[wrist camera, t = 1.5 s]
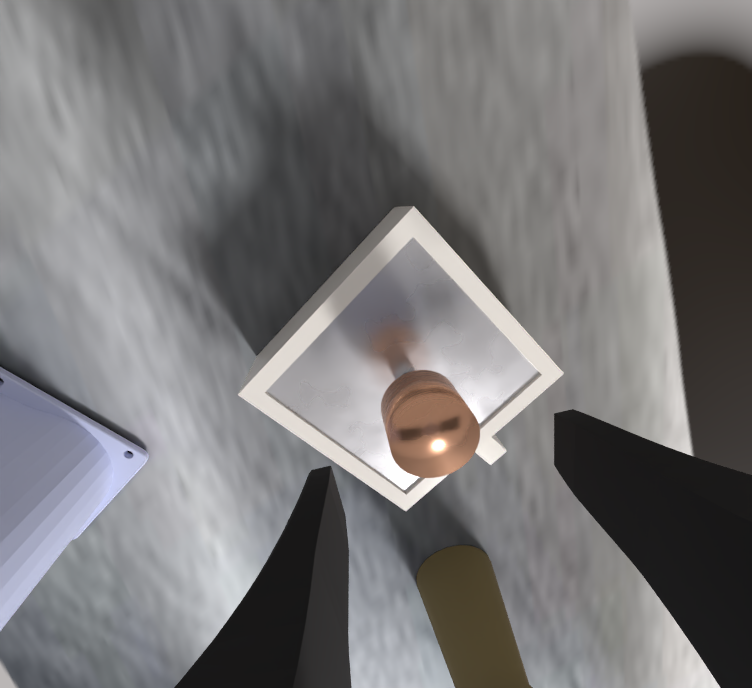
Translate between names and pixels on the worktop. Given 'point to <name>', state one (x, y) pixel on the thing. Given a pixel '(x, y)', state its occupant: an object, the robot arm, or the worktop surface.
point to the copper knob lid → (406, 373)
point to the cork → (470, 619)
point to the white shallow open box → (338, 296)
